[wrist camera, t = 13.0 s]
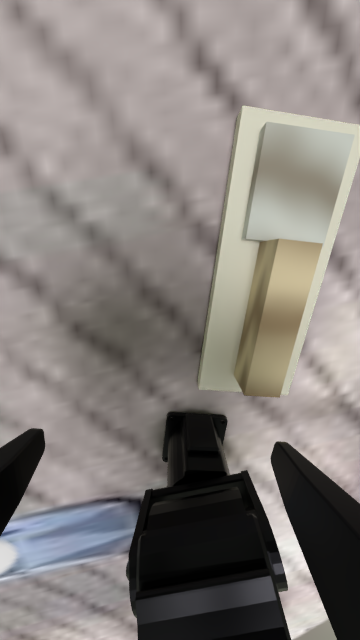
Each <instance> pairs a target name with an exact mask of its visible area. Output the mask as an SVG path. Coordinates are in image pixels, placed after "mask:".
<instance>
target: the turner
mask: <svg viewBox="0 0 360 640" xmlns="http://www.w3.org/2000/svg"><path fill="white" fill-rule="evenodd" d="M354 136H355V135H353V134H347V133H340V132H333V131H327V130H320V129H313V128H307V127H300V126H293V125H287V124H280V123H273V122H266V123H265V124H264V126H263V127H262V129H261V130H260V134H259V140H258V146H257V152H256V158H255V164H254V169H253V175H252V181H251V187H250V193H249V198H248V204H247V210H246V216H245V222H244V228H243V233H242V239H241V240H249V241H258V242H260V244H259V249H258V254H257V259H256V265H255V270H254V275H253V280H252V285H251V290H250V295H249V300H248V305H247V310H246V315H245V320H244V326H243V331H242V336H241V341H240V346H239V351H238V356H237V361H236V366H235V371H234V377H235V379H236V381H237V382H238V384H239V386H240V388H241V390H242V392H243V394H244V395H246V396H263V397H280V395H281V391H282V388H283V384H284V380H285V377H286V373H287V370H288V366H289V363H290V359H291V355H292V352H293V348H294V345H295V341H296V338H297V334H298V331H299V327H300V323H301V320H302V316H303V313H304V309H305V306H306V302H307V298H308V295H309V291H310V288H311V284H312V281H313V277H314V274H315V270H316V266H317V263H318V259H319V256H320V252H321V249H322V247H323V246H324V243H325V239H326V235H327V232H328V228H329V225H330V221H331V218H332V214H333V211H334V207H335V204H336V200H337V196H338V193H339V189H340V186H341V182H342V179H343V175H344V172H345V168H346V165H347V161H348V158H349V154H350V150H351V147H352V143H353V140H354Z"/></svg>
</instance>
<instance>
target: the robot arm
mask: <svg viewBox="0 0 360 640" xmlns="http://www.w3.org/2000/svg"><path fill="white" fill-rule="evenodd" d="M170 417H173V418H170ZM221 420H223V421H221ZM226 426H227V418H226V417H225V416H223V415H208V414H191V413H174V412H171V413H168V414H167V419H166V428H165V437H164V447H163V457H162V459H163V461H164V462H168V477H167V487H166V488H161V489H156V490H153V489H149V490H146V491H145V495H144V499H143V501H142V504H141V508H140V512H139V516H138V520H137V524H136V528H135V532H134V536H133V539H132V543H131V547H130V551H129V561H128V563H127V567H126V576H127V578H128V580H129V591H130V602H131V607H132V611H133V614H134V616H135V617H136V618H137V625H138V640H291V637H290V634H289V630H288V626H287V623H286V619H285V615H284V612H283V608H282V604H281V601H280V597H279V593H278V592H282V591H287V590H288V585H287V580H286V576H285V572H284V568H283V564H282V560H281V557H280V554H279V550H278V547H277V544H276V541H275V538H274V535H273V532H272V529H271V526H270V524H269V521H268V518H267V516H266V513H265V511H264V509H263V506H262V504H261V502H260V499H259V497H258V495H257V492H256V490H255V488H254V485H253V483H252V481H251V478H250V476H249V473H248V471H247V470H246V471H241V473H237V474H232V475H230V473H229V469H228V465H227V461H226V458H225V454H224V450H223V447H222V445H223V440H224V436H225V431H226ZM44 450H45V439H44V431H43V429H36V428H32V429H29V430H27V431H26V432H24V433H23V434H21V435H19V436H18V437H16V438H15V439H13V440H12V441H10V442H9V443H7V444H5V445H4V446H2V447H1V448H0V536H1V534H2V532H3V531H4V529H5V527H6V526H7V524H8V522H9V520H10V519H11V517H12V515H13V513H14V512H15V510H16V508H17V506H18V505H19V503H20V501H21V499H22V497H23V495H24V493H25V491H26V489H27V487H28V484H29V482H30V480H31V478H32V476H33V474H34V472H35V470H36V468H37V465H38V463H39V461H40V459H41V457H42V455H43V453H44ZM271 464H272V467H273V471H274V474H275V477H276V480H277V484H278V487H279V490H280V493H281V497H282V500H283V503H284V506H285V509H286V512H287V514H288V517H289V520H290V522H291V525H292V527H293V530H294V532H295V535H296V537H297V540H298V542H299V545H300V547H301V550H302V552H303V555H304V557H305V560H306V562H307V565H308V568H309V570H310V573H311V575H312V578H313V580H314V583H315V585H316V588H317V590H318V593H319V595H320V598H321V600H322V603H323V605H324V608H325V610H326V613H327V615H328V618H329V620H330V623H331V625H332V628H333V630H334V633H335V635H336V638H337V640H360V503H358V502H357V501H356V500H355V499H354V498H352V497H351V496H350V495H349V494H348V493H346V492H345V491H344V490H343V489H342V488H341V487H339V486H338V485H337V484H336V483H335V482H333V481H332V480H331V479H330V478H329V477H328V476H326V475H325V474H324V473H323V472H322V471H320V470H319V469H318V468H317V467H316V466H314V465H313V464H312V463H311V462H310V461H309V460H307V459H306V458H305V457H304V456H303V455H301V454H300V453H299V452H298V451H297V450H296V449H294V448H293V447H292V446H291V445H290V444H288V443H287V442H276V443H275V445H274V448H273V451H272V455H271Z"/></svg>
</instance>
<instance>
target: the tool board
mask: <svg viewBox="0 0 360 640" xmlns="http://www.w3.org/2000/svg"><path fill="white" fill-rule="evenodd" d="M266 122H273V123H280V124H287V125H293V126H300V127H307V128H313V129H320V130H327V131H333V132H340V133H347V134H353V135H355V136H354V140H353V143H352V147H351V150H350V154H349V158H348V161H347V165H346V168H345V172H344V175H343V179H342V182H341V186H340V189H339V193H338V196H337V200H336V204H335V207H334V211H333V214H332V218H331V221H330V225H329V228H328V232H327V235H326V239H325V243H324V246H323V247H322V249H321V252H320V256H319V259H318V263H317V266H316V270H315V274H314V277H313V281H312V284H311V288H310V291H309V295H308V298H307V302H306V306H305V309H304V313H303V316H302V320H301V323H300V327H299V331H298V334H297V338H296V341H295V345H294V348H293V352H292V355H291V359H290V363H289V366H288V370H287V373H286V377H285V380H284V384H283V388H282V391H281V395H288V392H289V389H290V386H291V382H292V379H293V376H294V372H295V369H296V366H297V363H298V359H299V356H300V353H301V349H302V346H303V343H304V340H305V336H306V333H307V330H308V326H309V323H310V320H311V317H312V313H313V310H314V307H315V303H316V300H317V297H318V294H319V290H320V287H321V284H322V280H323V277H324V274H325V270H326V267H327V264H328V261H329V257H330V254H331V251H332V247H333V244H334V241H335V238H336V234H337V231H338V228H339V224H340V221H341V218H342V215H343V211H344V208H345V205H346V201H347V198H348V195H349V191H350V188H351V185H352V182H353V178H354V175H355V172H356V168H357V165H358V162H359V159H360V125H356V124H350V123H344V122H338V121H332V120H326V119H320V118H314V117H308V116H302V115H296V114H290V113H284V112H278V111H272V110H266V109H260V108H254V107H248V106H242V108H241V110H240V112H239V115H238V117H237V122H236V129H235V135H234V142H233V149H232V155H231V162H230V169H229V175H228V182H227V188H226V195H225V202H224V208H223V215H222V222H221V228H220V235H219V241H218V248H217V255H216V261H215V268H214V275H213V281H212V288H211V294H210V301H209V308H208V314H207V321H206V327H205V334H204V341H203V347H202V354H201V361H200V367H199V374H198V380H197V383H198V388H199V389H200V390H215V391H230V392H242V390H241V388H240V386H239V384H238V382H237V381H236V379H235V377H234V371H235V366H236V361H237V356H238V351H239V346H240V341H241V336H242V331H243V326H244V320H245V315H246V310H247V305H248V300H249V295H250V290H251V285H252V280H253V275H254V270H255V265H256V259H257V254H258V249H259V244H260V242H258V241H249V240H241V239H242V233H243V228H244V222H245V216H246V210H247V204H248V198H249V193H250V187H251V181H252V175H253V169H254V164H255V158H256V152H257V146H258V140H259V134H260V130H261V129H262V127H263V126H264V124H265V123H266Z"/></svg>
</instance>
